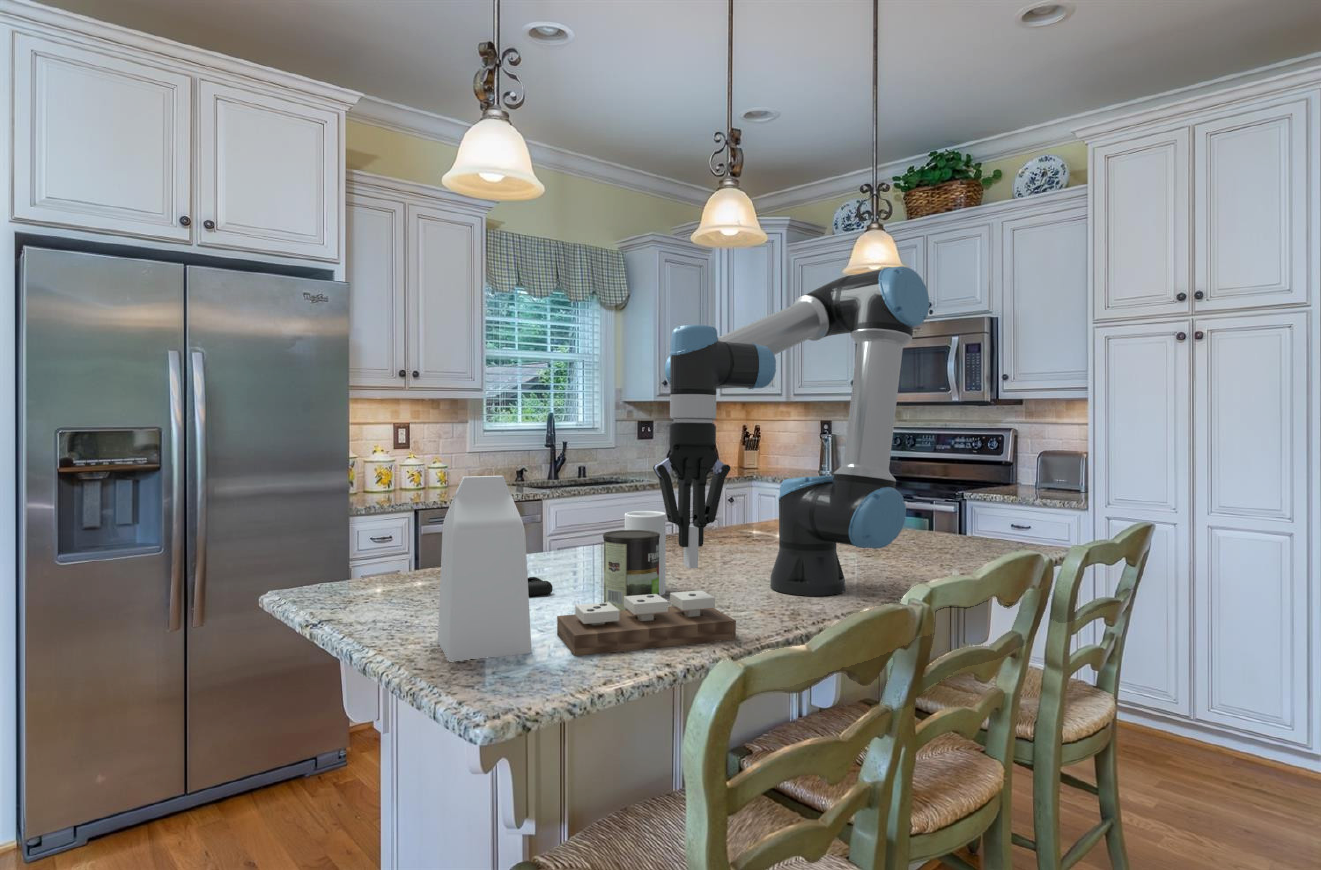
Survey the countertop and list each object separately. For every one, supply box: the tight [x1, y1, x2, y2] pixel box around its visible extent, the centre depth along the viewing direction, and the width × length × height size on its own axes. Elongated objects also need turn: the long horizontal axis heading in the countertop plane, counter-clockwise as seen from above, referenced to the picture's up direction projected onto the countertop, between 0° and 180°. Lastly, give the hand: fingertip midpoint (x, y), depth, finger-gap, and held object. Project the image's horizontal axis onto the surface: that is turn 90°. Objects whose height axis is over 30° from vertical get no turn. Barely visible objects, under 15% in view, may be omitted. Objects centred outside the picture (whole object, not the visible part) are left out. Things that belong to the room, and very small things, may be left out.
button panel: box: [556, 605, 737, 657], centre depth 123 cm, size 26×12×3 cm, turn 110°
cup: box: [624, 510, 667, 597], centre depth 155 cm, size 8×8×16 cm
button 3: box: [574, 602, 619, 626], centre depth 120 cm, size 6×6×4 cm
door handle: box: [528, 576, 554, 598], centre depth 155 cm, size 3×20×16 cm
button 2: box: [624, 594, 669, 621], centre depth 123 cm, size 6×6×4 cm
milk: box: [437, 475, 533, 663], centre depth 117 cm, size 12×12×26 cm
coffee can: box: [602, 529, 660, 611], centre depth 140 cm, size 10×10×14 cm
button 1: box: [669, 589, 716, 617], centre depth 126 cm, size 6×6×4 cm
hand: (690, 566), depth 126 cm, fingers closed
